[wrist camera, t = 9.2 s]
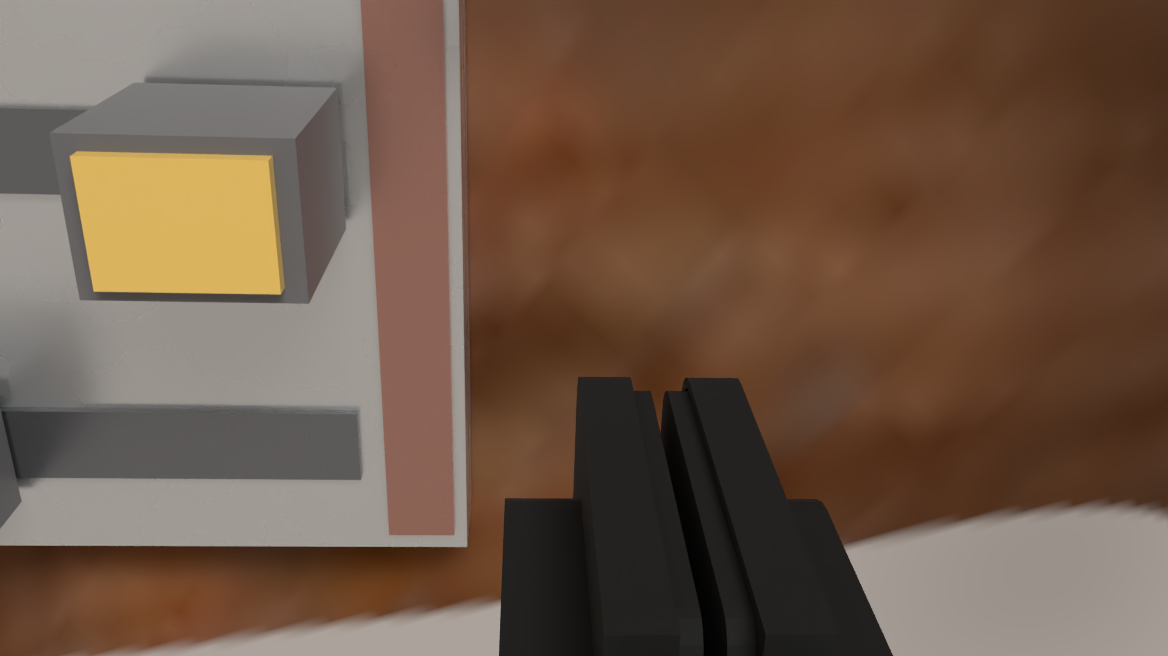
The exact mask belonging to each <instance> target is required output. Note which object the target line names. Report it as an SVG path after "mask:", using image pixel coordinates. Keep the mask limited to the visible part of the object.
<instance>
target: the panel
mask: <svg viewBox="0 0 1168 656" xmlns="http://www.w3.org/2000/svg"><path fill="white" fill-rule="evenodd" d="M133 83H171V84H210V85H249V86H288V87H327V88H337V95H338V111H339V126H340V142H341V157H342V173H343V188H344V203H345V219H346V230H345V232H344V234H343V236H342V238H341V240H340V242H339V244H338V246H337V248H336V250H335V252H334V254H333V256H332V258H331V260H330V262H329V264H328V266H327V268H326V270H325V272H324V274H323V276H322V278H321V281H320V283H319V285H318V287H317V289H316V291H315V293H314V295H313V297H312V299H311V301H310V303H309V304H290V303H224V302H158V301H92V300H80V299H79V293H78V288H77V282H76V277H75V271H74V266H73V261H72V255H71V250H70V244H69V239H68V233H67V228H66V222H65V217H64V211H63V206H62V201H61V195H60V190H59V184H58V179H57V173H56V168H55V162H54V157H53V151H52V146H51V141H50V135H49V133H50V132H52V131H53V130H55V129H57V128H58V127H60V126H62V125H63V124H65V123H67V122H68V121H70V120H72V119H74V118H75V117H77V116H79V115H80V114H82V113H84V112H85V111H87V110H89V109H90V108H92V107H94V106H95V105H97V104H99V103H101V102H102V101H104V100H106V99H107V98H109V97H111V96H112V95H114V94H116V93H117V92H119V91H121V90H122V89H124V88H126V87H128V86H129V85H131V84H133ZM0 409H1V413H2V417H3V422H4V426H5V431H6V435H7V439H8V444H9V448H10V452H11V457H12V461H13V466H14V470H15V474H16V479H17V483H18V487H19V492H20V496H21V501H22V502H21V503H20V504H19V506H18V507H17V508H16V509H15V511H14V512H13V513H12V515H11V516H10V517H9V518H8V520H7V521H6V522H5V523H4V525H3V526H2V527H1V529H0V545H18V546H315V547H467V544H468V534H469V524H470V514H471V504H472V481H471V404H470V327H469V250H468V172H467V95H466V18H465V0H0Z"/></svg>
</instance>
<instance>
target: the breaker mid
mask: <svg viewBox="0 0 1168 656" xmlns="http://www.w3.org/2000/svg"><path fill="white" fill-rule="evenodd" d="M49 135H50V141H51V146H52V151H53V157H54V162H55V168H56V173H57V179H58V184H59V190H60V195H61V201H62V206H63V211H64V217H65V222H66V228H67V233H68V239H69V244H70V250H71V255H72V261H73V266H74V271H75V277H76V282H77V288H78V293H79V299H80V300H92V301H158V302H224V303H290V304H309V303H310V301H311V299H312V297H313V295H314V293H315V291H316V289H317V287H318V285H319V283H320V281H321V278H322V276H323V274H324V272H325V270H326V268H327V266H328V264H329V262H330V260H331V258H332V256H333V254H334V252H335V250H336V248H337V246H338V244H339V242H340V240H341V238H342V236H343V234H344V232H345V230H346V219H345V203H344V188H343V173H342V157H341V142H340V126H339V111H338V95H337V88H327V87H288V86H249V85H210V84H171V83H133V84H131V85H129V86H128V87H126V88H124V89H122V90H121V91H119V92H117V93H116V94H114V95H112V96H111V97H109V98H107V99H106V100H104V101H102V102H101V103H99V104H97V105H95V106H94V107H92V108H90V109H89V110H87V111H85V112H84V113H82V114H80V115H79V116H77V117H75V118H74V119H72V120H70V121H68V122H67V123H65V124H63V125H62V126H60V127H58V128H57V129H55V130H53V131H52V132H50V133H49Z"/></svg>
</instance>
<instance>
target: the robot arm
mask: <svg viewBox="0 0 1168 656" xmlns="http://www.w3.org/2000/svg"><path fill="white" fill-rule="evenodd" d="M499 656H893V655H892V653H891V650H890V648H889V646H888V644H887V642H886V639H885V637H884V635H883V633H882V630H881V628H880V626H879V624H878V622H877V620H876V617H875V615H874V613H873V611H872V608H871V606H870V604H869V602H868V600H867V597H866V595H865V593H864V591H863V589H862V586H861V584H860V582H859V580H858V578H857V575H856V573H855V571H854V569H853V566H852V564H851V562H850V560H849V558H848V555H847V553H846V551H845V549H844V547H843V544H842V542H841V540H840V538H839V535H838V533H837V531H836V529H835V527H834V524H833V522H832V520H831V518H830V516H829V513H828V511H827V509H826V508H825V506H824V505H823V503H822V502H821V501H819V500H816V499H787V498H786V496H785V493H784V491H783V488H782V486H781V483H780V481H779V478H778V476H777V473H776V471H775V468H774V466H773V463H772V460H771V458H770V455H769V453H768V450H767V448H766V445H765V443H764V440H763V438H762V435H761V433H760V430H759V428H758V425H757V423H756V420H755V418H754V415H753V413H752V410H751V408H750V405H749V403H748V400H747V398H746V395H745V393H744V390H743V388H742V385H741V383H740V381H739V379H738V378H685V380H684V383H683V387H682V391H666V392H665V394H664V400H663V410H662V423H661V434H660V429H659V425H658V420H657V416H656V412H655V407H654V403H653V398H652V394H651V391H633V386H632V381H631V378H630V377H579V378H578V386H577V408H576V436H575V463H574V491H573V499H516V498H505V513H504V539H503V565H502V592H501V618H500V645H499Z"/></svg>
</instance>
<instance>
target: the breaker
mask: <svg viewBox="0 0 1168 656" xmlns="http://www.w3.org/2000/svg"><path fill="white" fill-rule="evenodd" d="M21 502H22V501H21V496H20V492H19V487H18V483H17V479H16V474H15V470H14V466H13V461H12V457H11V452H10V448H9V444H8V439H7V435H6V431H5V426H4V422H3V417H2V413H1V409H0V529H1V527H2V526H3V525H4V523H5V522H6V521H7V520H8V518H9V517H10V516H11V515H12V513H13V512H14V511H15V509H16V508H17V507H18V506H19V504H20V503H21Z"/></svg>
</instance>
